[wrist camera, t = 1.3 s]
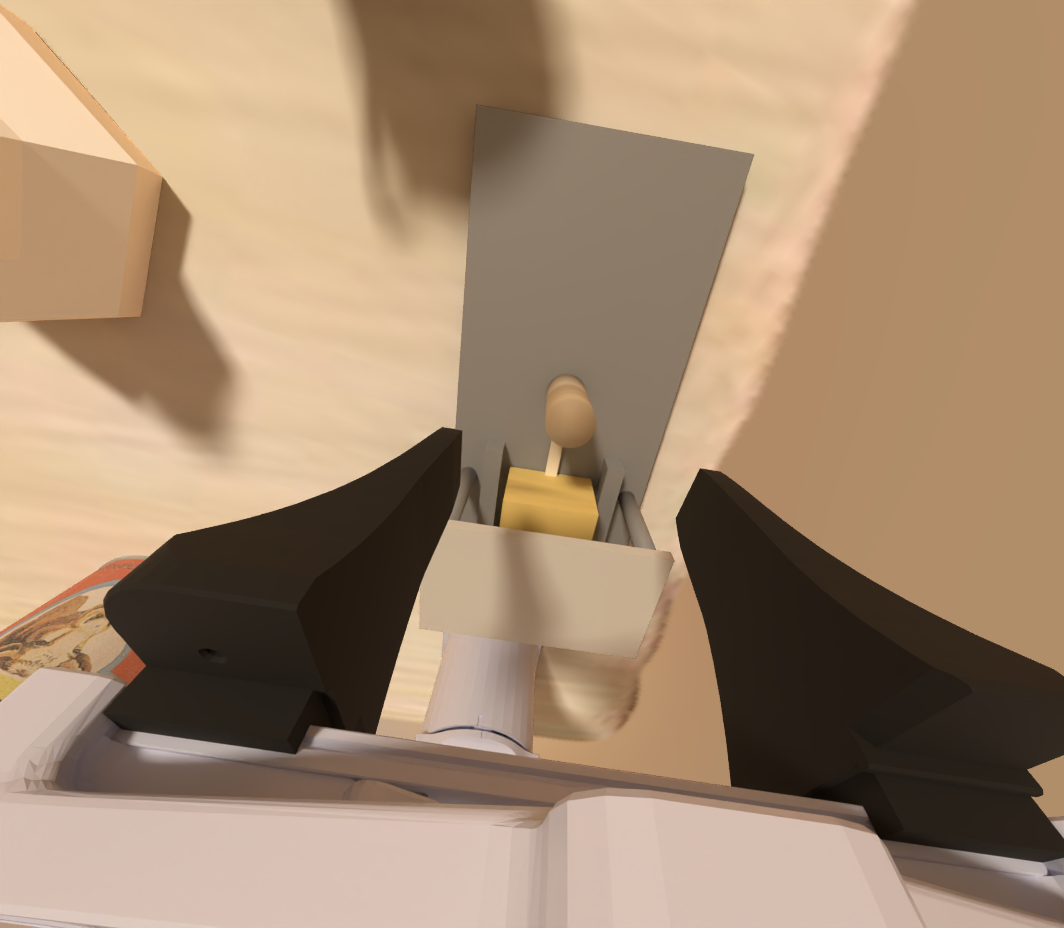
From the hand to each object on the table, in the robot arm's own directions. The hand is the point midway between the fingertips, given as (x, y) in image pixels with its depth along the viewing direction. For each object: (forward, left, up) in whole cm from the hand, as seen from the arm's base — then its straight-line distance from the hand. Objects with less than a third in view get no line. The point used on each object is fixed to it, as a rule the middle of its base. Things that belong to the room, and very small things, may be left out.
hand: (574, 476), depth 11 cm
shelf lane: (-1, 0, -11) cm, 11 cm away
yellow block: (-5, 0, -10) cm, 11 cm away
